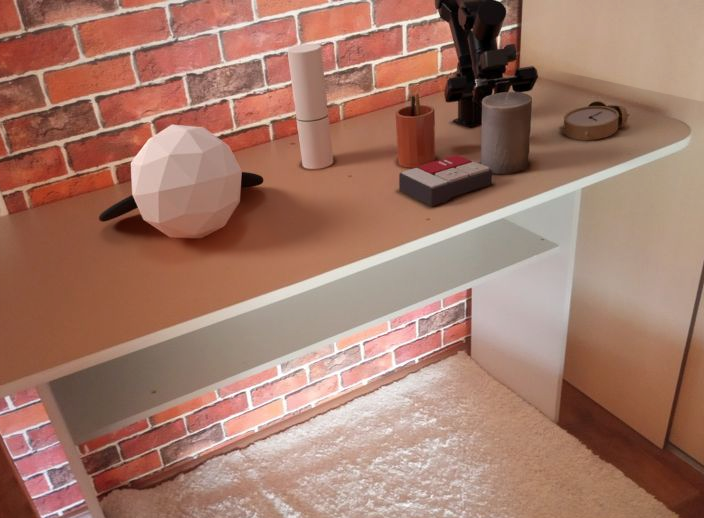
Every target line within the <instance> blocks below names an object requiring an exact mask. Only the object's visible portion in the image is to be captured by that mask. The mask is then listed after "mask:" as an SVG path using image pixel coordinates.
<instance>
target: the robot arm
mask: <svg viewBox="0 0 704 518" xmlns="http://www.w3.org/2000/svg"><path fill="white" fill-rule="evenodd" d="M434 7H435V10H437V12H438V15H439V18H440V19H441V20H443V21H444V22H446V23H448V25H449V29H450V34H451V37H452V41H453V45H454V49H455V52H456V56H457V61H458V62H457V64H456V65H457V66H456V71H455V74H454V76H453V77H449V78H448V79H447V80H446V83H445V87H444V93H443V94H444V100H445V103H448V104H449V103H455V102H457V118H454V119H453V120H452V122H453V123H455V124H458V125H461V126H464V127H466V128H473V127H476V126H479V125H482V101H483V99H484V98H486V97H487V96H490V95H493V94H497V93H503V92H510V89H511V88H512V92H520V93H527V92H530V91H532V90H533V88H534V86H535V84H536V82H537V80H538V78H539V73H538V69H537V68H536V67H535V66H533V65H530V66H524V67H517V68H516V69H515V72H514V74H513V75H508V76H504V74H505V73H506V71H507V67H506V66H509V63H513V62H515V61H516V60H517V58H518V57H517V56H518V55H517V48H516V44H515V43H512V44H511V43H510V44H506V45H505V46H504V47H503V48H499V47H498V41H497V38H498V37H499V36H500V34H501V30H502V28H503V25H504V22H505V19H506V16H507V8H506V6H504V4H503V3H502V2H501V1H499V0H434Z"/></svg>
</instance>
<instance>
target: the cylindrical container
mask: <svg viewBox="0 0 704 518" xmlns="http://www.w3.org/2000/svg"><path fill="white" fill-rule="evenodd" d="M286 51H287V60H288V68H289V74H290V81H291V91H292V97H293V102H294V103H293V104H294V112H295V120H296V126H297V127H296V128H297V134H298V141H299V150H300V156H301V157H300V158H301V165H302V167H303V168H304V169H307V170H320V169H324V168H328V167H329V166H331V165H332V164H333V163H334V153H333V146H332V145H333V144H332V135H331V125H330V117H329V116H330V115H329V108H328V97H327V89H326V79H325V71H324V69H325V68H324V60H323V50H322V45H321V44H319V43H303V44H297V45H293V46H291V47H288V48H287V50H286Z"/></svg>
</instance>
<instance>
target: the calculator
mask: <svg viewBox="0 0 704 518" xmlns="http://www.w3.org/2000/svg"><path fill="white" fill-rule="evenodd" d="M398 176H399V177H398V182H399V183H398V186H399V187H398V189H399V191H400V192H402V193H404V194H406V195H408V196H410V197H411V198H414V199H416V200H417V201H419V202H422V203H424V204H425V205H427V206H429V207H434V206H438V205H442V204H444V203H446V202H448V201H449V200H450V199H451V198H454V197H457V196H460V195H463V194H467V193H469V192H473V191H476V190H479V189H482V188H485V187H489V186H491V185H492V181H493V173H492V170H490V169H489V167H487V166H484V165H482V164H481V163H479V162H476V161H472V160H471V159H469V158H466V157H464V156H461V155H458V154H456V155H452V156H449V157H446V158H441V159H438V160H435V161H434V162H431V163H428V164H424V165H421V166H419V168H410V169H407V170H404V171H401V172H400V173H399V175H398Z"/></svg>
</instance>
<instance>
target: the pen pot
mask: <svg viewBox="0 0 704 518" xmlns="http://www.w3.org/2000/svg"><path fill="white" fill-rule="evenodd" d="M420 111H421V115H420V116H417V110H416V104H415V109H414V116H410V112H411V105H407V106H402V107H400V108H399V109H397V110H395V128H396V130H395V131H396V149H397V162H398V164H399V165H400V167H404V168H408V169H409V168H410V169H414V168H419V166H421V165H424V164H428V163H431V162H435V161H436V120H435V108H434V107H433V106H431V105H428V104H420Z"/></svg>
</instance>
